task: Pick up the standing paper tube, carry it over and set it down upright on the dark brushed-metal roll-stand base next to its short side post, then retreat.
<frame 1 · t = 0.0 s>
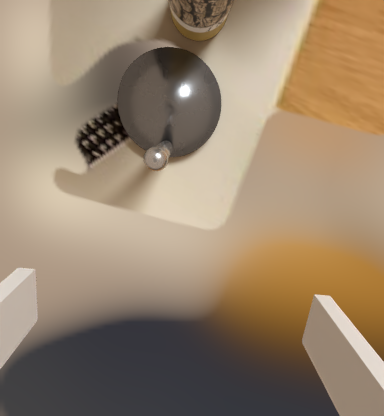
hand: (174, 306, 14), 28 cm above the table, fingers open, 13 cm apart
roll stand: (170, 105, 38), on the table
paper tube: (199, 11, 35), on the table
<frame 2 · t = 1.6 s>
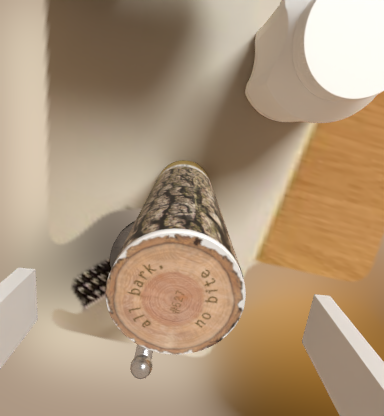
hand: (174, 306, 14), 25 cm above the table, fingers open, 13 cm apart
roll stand: (158, 259, 41), on the table
paper tube: (183, 185, 38), on the table
jar: (289, 71, 34), on the table
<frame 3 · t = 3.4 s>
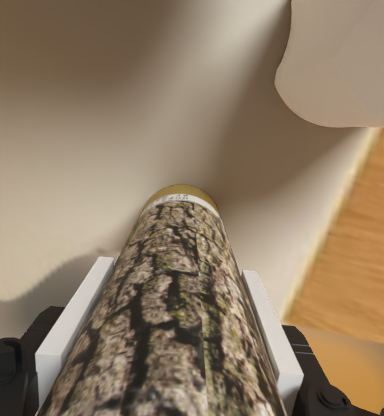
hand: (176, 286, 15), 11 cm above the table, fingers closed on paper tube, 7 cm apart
paper tube: (181, 218, 26), on the table, touching gripper
jar: (342, 49, 22), on the table
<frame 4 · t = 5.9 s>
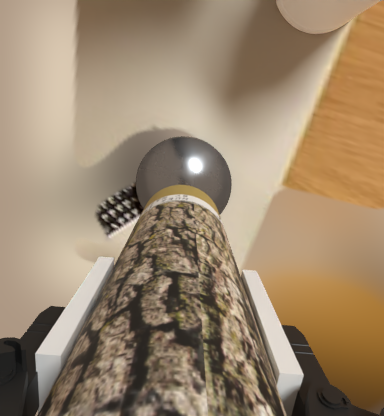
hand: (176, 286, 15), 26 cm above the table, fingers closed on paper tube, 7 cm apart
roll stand: (183, 184, 41), on the table
paper tube: (181, 219, 26), point 15 cm above the table, touching gripper
when the fingers open (13 cm above the table, at t = 8.5 s): paper tube drops 1 cm, resting on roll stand.
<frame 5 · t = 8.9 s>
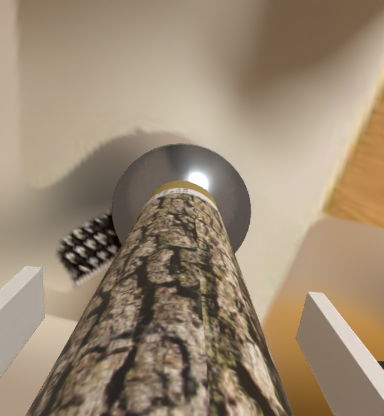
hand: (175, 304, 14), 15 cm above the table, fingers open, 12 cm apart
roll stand: (181, 211, 28), on the table
paper tube: (181, 214, 27), point 1 cm above the table, touching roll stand
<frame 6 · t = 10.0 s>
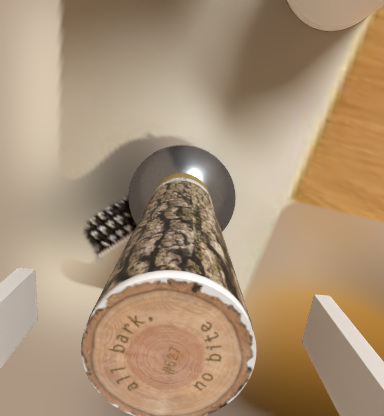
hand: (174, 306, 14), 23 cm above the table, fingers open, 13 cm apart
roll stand: (182, 197, 36), on the table
paper tube: (181, 199, 35), point 1 cm above the table, touching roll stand
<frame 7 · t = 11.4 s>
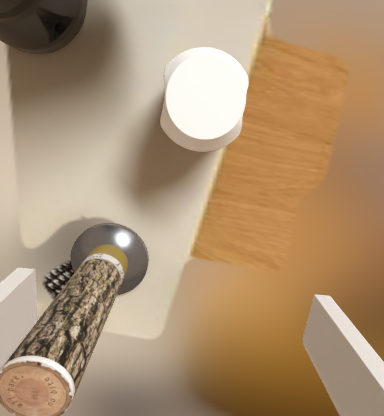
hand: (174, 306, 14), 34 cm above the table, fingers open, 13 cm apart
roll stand: (111, 258, 50), on the table
paper tube: (109, 260, 50), point 1 cm above the table, touching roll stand
jar: (200, 106, 44), on the table
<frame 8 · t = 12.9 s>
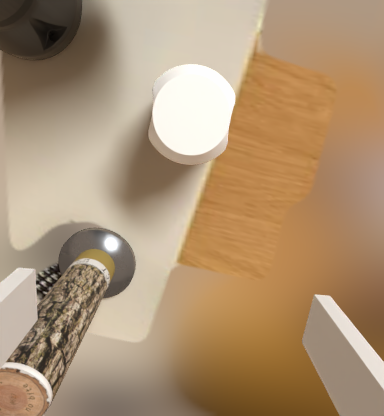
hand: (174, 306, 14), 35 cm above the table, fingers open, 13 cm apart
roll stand: (98, 262, 51), on the table
paper tube: (96, 264, 50), point 1 cm above the table, touching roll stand
jar: (190, 117, 45), on the table
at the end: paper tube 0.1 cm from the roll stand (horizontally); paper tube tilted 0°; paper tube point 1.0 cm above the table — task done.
